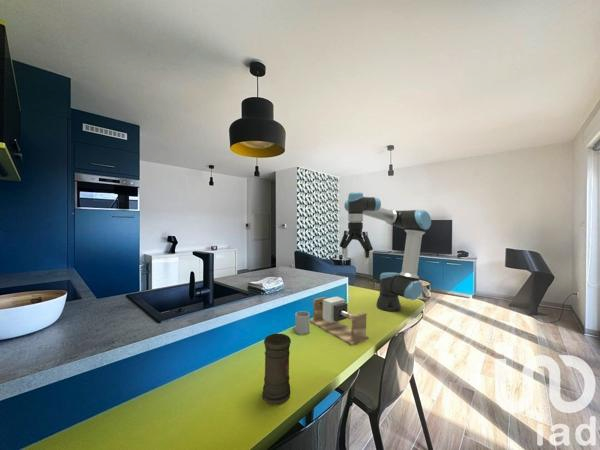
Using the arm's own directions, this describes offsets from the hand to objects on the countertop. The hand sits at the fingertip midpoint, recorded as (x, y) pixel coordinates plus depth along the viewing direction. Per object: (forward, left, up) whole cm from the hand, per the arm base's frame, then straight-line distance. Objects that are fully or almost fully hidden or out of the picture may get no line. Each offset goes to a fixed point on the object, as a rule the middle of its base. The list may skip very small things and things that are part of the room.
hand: (355, 262), depth 128 cm
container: (+59, +20, -35) cm, 71 cm away
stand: (+9, -3, -35) cm, 36 cm away
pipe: (+9, -3, -26) cm, 28 cm away
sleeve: (+9, -6, -30) cm, 32 cm away
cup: (+25, -13, -35) cm, 45 cm away
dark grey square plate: (+9, -1, -29) cm, 30 cm away
